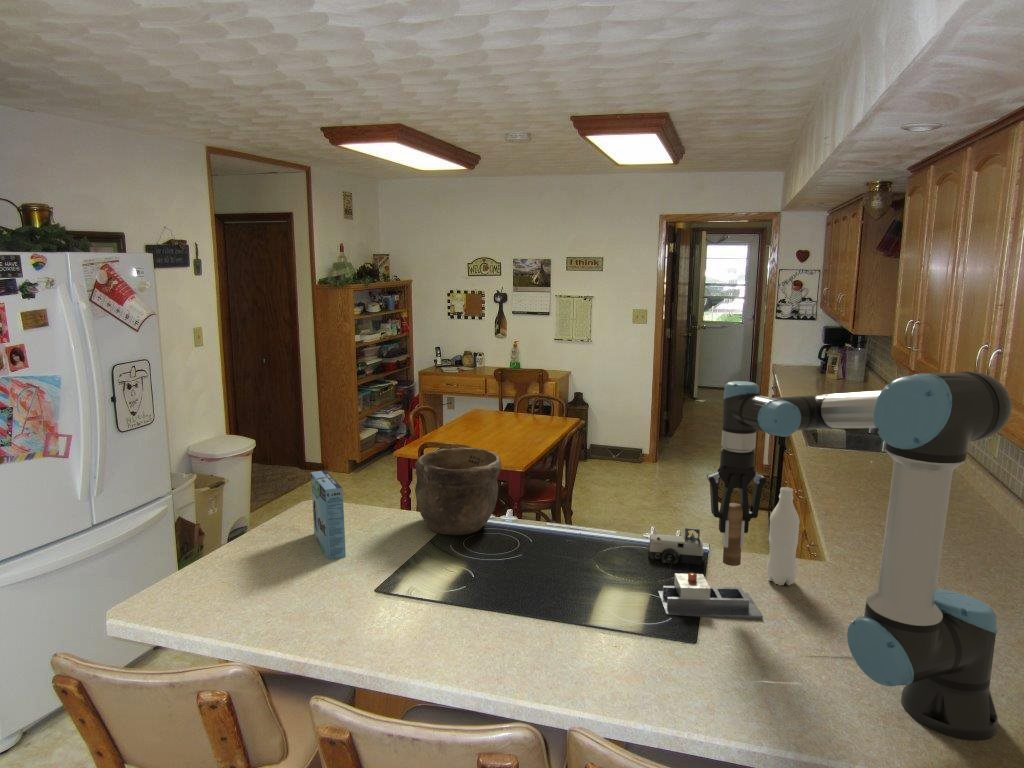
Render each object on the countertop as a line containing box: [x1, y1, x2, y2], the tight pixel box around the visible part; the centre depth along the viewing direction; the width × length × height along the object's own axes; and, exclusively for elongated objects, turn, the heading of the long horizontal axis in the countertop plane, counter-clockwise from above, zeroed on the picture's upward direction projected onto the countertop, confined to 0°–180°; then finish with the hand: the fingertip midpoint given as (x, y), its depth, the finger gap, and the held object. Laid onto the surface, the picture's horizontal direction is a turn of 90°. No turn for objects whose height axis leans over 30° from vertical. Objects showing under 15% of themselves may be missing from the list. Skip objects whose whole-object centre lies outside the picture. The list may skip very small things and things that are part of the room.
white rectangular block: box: [673, 572, 711, 600], centre depth 168 cm, size 8×7×4 cm
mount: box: [658, 585, 764, 621], centre depth 169 cm, size 12×22×4 cm, turn 88°
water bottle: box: [766, 486, 801, 586], centre depth 181 cm, size 7×7×25 cm
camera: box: [647, 527, 705, 566], centre depth 194 cm, size 15×8×10 cm, turn 75°
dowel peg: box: [722, 502, 743, 567], centre depth 166 cm, size 4×4×14 cm
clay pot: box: [414, 447, 502, 536], centre depth 212 cm, size 26×26×25 cm
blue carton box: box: [310, 470, 347, 560], centre depth 195 cm, size 20×5×23 cm, turn 26°
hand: (732, 545), depth 167 cm, fingers closed on dowel peg, 3 cm apart
